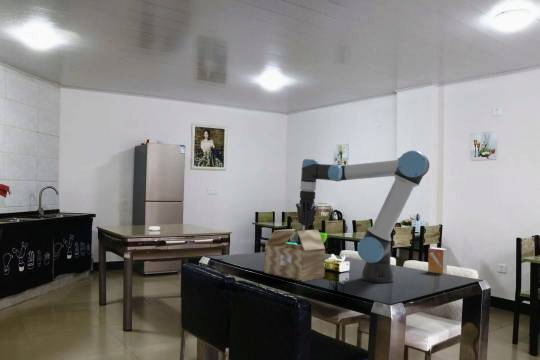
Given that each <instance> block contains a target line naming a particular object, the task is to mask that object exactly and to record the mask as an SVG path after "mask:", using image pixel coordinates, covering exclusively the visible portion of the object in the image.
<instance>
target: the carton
mask: <svg viewBox="0 0 540 360" xmlns="http://www.w3.org/2000/svg"><path fill="white" fill-rule="evenodd" d="M325 255H326V248H325V249H317V250H309V251H304V249H303V246H302V244H298V245H296V244H289V243H283V244H272V245H265V246H264V273H265V274H269V275H272V274H273V275H272V276H277V275H278V276H277V277H282V278H286V277H287V278H286V279H291V278H292V279H291V280H295V279H296V280H295V281H300V280H301V281H300V282H306V281H311V280H316V279H321V278H325V271H326V270H325V264H326V262H325V261H326V256H325Z"/></svg>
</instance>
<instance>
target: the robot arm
mask: <svg viewBox="0 0 540 360" xmlns="http://www.w3.org/2000/svg"><path fill="white" fill-rule="evenodd" d="M429 169H430V161H429V159H428V157H427V156H426V155H425V154H424V153H423V152H421V151H418V150H409V151H406V152H404V153H403V154H401V155H400V157H398V158H397V159H396V160H385V161H374V162H366V163H365V162H364V163H355V164H354V163H353V164H346V165H338V164H327V163H325V164H322V163H319V161H318V159H314V158H313V159H310V158H303V161H302V166H301V174H300V175H301V177H300V178H301V179H300V188H299V189H300V191H299V199H300V200H299V201H298V203H296V204H295V206H296V210H297V219H298V224H300V225H301V228H300V229H301V230H300V231H304V230H310V226H312V225H313V223H314V219H315V216H316V212H317V210H318V209H319V206H318V205H316V204H315V199H316V188H317V180H320V181H321V180H323V181H333V182H342V181H352V180H362V179H373V178H374V179H376V178H387V177H394V182H393V183H392V185H391V187H390V189H389V191H388V194H387V195H386V197H385V200H384V202H383V204H382V206H381V209H380V210H379V212H378V214H377V216H376V219H375V221H374V222H373V225H372V226H371V227H367V229H366V231H365V233H364V234H363V238H362V239H360V240H359V242H358V244H357V248H356V249H357V250H356V251H357V254H358V256H359V257H360V259H361V260H363V261H364V262H365V264H364V266H363V269H362V273H361V279H362V280H363V281H365V282H371V283H379V284H380V283H381V284H386V283H392V282H393V283H394V282H395V280H394V279H395V277H394V272H393V270H392V267H391V249H392V248H391V247H392V246H391V244H392V243H391V242H392V237H391V234H392V231H393V230H394V228H395V226H396V224H397V222H398V220H399V218H400V216H401V214H402V211H403V210H404V207H405V206H406V204H407V202H408V200H409V197H410V195H411V193H412V191H413V190H414V188H415V187H419V186H420V184H421V182H422V179H423V178H424V176H425V175H426V174H427V173H428V172H429Z"/></svg>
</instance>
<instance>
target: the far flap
mask: <svg viewBox="0 0 540 360" xmlns="http://www.w3.org/2000/svg"><path fill="white" fill-rule="evenodd" d="M295 231H296V228H295V229H294V228H292V229H277V230H275V229H274V230H273V232H272V233H271V235H270V237H269V238H268V240H267V241H266V243H265V245H272V244H283V243H287V242H289V240H290V239H291V237H292V235H293V234H294V232H295Z"/></svg>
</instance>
